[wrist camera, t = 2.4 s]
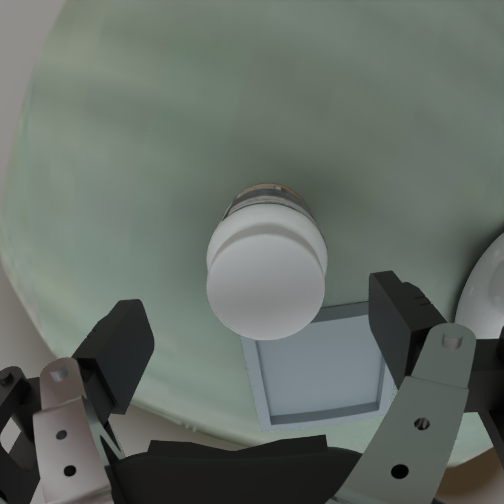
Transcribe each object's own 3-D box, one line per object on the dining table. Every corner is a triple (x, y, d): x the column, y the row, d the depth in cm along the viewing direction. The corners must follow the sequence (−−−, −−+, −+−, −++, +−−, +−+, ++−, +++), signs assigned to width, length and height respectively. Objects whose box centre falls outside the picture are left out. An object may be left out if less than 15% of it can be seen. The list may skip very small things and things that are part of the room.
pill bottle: (285, 275, 23) (293, 369, 14) (211, 240, 22) (172, 317, 13) (325, 206, 21) (367, 264, 12) (248, 166, 20) (229, 194, 11)
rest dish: (394, 297, 23) (402, 308, 21) (383, 401, 27) (387, 414, 26) (240, 317, 24) (238, 330, 23) (262, 418, 28) (261, 432, 27)
